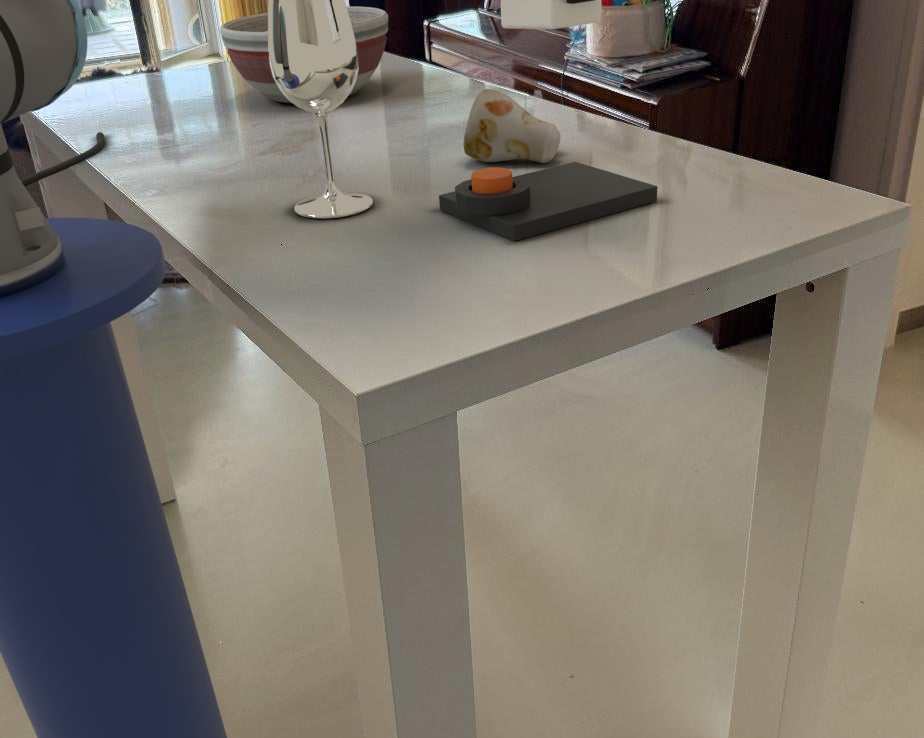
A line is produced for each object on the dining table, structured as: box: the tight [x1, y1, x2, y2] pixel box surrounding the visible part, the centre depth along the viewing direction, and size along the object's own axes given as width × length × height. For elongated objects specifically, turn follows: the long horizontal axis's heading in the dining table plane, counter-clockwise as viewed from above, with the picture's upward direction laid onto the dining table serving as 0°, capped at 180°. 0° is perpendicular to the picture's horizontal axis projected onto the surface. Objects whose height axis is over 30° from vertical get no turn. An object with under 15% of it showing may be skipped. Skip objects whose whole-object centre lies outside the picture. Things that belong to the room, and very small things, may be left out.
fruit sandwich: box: [463, 88, 561, 164], centre depth 102 cm, size 8×10×10 cm
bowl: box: [219, 5, 389, 104], centre depth 136 cm, size 23×23×10 cm
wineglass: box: [267, 0, 374, 220], centre depth 88 cm, size 8×8×20 cm
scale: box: [438, 161, 659, 242], centre depth 89 cm, size 12×17×3 cm
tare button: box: [470, 167, 513, 194], centre depth 85 cm, size 4×4×2 cm
